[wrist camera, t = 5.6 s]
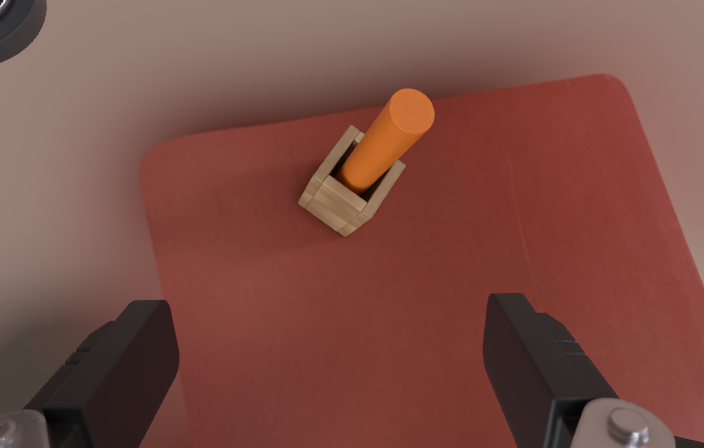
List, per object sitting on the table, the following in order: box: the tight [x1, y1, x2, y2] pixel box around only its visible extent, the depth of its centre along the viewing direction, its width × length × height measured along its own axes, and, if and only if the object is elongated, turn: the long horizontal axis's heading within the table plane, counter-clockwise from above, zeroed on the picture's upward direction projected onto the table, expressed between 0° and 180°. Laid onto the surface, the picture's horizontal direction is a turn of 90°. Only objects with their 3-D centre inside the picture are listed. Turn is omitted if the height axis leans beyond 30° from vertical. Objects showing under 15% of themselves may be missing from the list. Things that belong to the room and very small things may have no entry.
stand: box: [298, 125, 406, 237], centre depth 33 cm, size 5×5×7 cm
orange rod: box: [334, 89, 434, 197], centre depth 29 cm, size 2×2×16 cm
